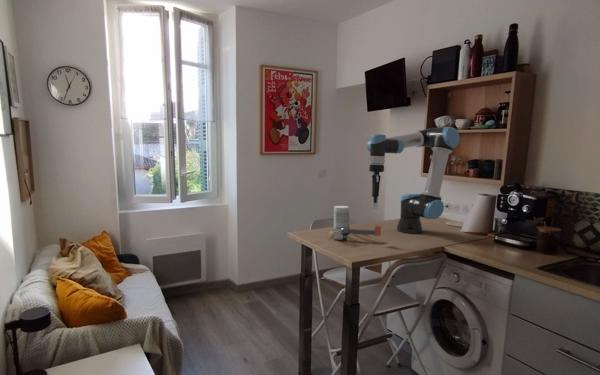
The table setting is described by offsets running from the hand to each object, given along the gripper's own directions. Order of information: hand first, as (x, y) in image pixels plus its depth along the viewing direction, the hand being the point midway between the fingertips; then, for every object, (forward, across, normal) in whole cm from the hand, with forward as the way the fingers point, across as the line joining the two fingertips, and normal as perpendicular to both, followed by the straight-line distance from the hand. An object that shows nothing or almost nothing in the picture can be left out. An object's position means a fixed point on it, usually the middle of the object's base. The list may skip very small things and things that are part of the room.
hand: (374, 208), depth 185 cm
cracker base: (+19, -1, -10) cm, 22 cm away
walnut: (+18, -3, -20) cm, 27 cm away
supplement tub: (+19, -29, -16) cm, 38 cm away
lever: (+17, +1, -9) cm, 19 cm away
